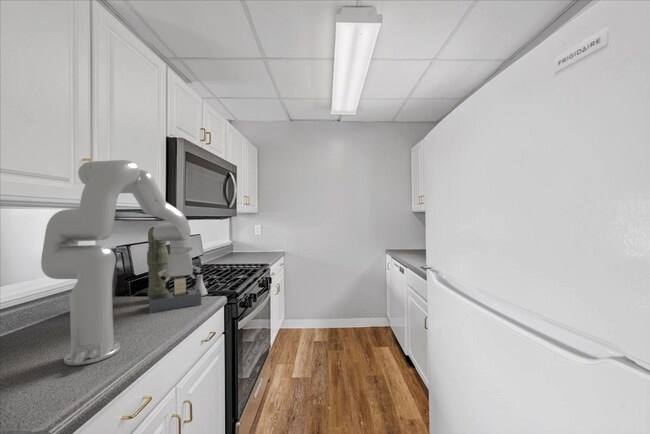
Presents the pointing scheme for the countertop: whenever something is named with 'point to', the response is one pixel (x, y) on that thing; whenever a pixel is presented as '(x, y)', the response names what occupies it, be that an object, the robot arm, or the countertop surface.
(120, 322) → the countertop surface
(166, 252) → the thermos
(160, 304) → the rail
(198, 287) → the flask
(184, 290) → the peg
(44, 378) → the countertop surface
